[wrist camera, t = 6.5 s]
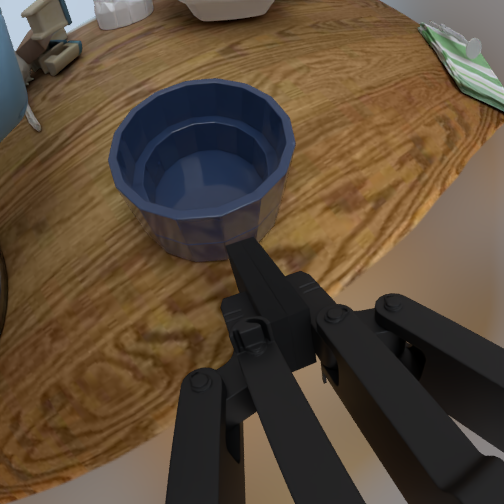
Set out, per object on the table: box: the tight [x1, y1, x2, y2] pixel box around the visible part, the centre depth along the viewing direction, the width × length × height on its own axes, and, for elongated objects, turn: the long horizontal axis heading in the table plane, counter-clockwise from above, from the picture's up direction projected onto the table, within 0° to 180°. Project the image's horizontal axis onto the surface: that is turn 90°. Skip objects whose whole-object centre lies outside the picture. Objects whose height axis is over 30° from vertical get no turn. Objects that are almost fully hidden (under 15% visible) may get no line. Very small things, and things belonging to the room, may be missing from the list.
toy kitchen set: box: [21, 0, 82, 76], centre depth 28 cm, size 18×14×11 cm
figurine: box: [429, 20, 482, 59], centre depth 36 cm, size 5×5×12 cm
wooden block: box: [16, 29, 54, 64], centre depth 27 cm, size 4×4×8 cm
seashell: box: [14, 51, 41, 132], centre depth 26 cm, size 10×9×25 cm
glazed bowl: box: [108, 78, 296, 262], centre depth 21 cm, size 12×12×8 cm
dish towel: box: [418, 23, 504, 111], centre depth 37 cm, size 18×23×3 cm
